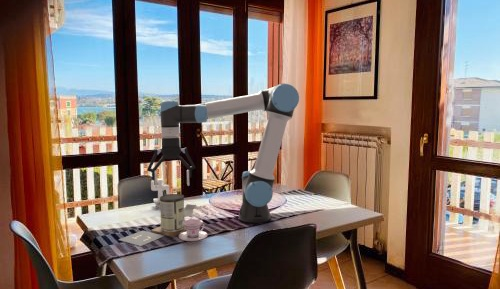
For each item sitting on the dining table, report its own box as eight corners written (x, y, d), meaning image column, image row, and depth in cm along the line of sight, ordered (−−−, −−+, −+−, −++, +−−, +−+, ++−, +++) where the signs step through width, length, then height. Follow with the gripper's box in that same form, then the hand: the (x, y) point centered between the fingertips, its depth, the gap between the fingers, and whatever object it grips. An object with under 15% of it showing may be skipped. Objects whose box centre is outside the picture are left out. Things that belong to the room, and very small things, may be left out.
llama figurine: (200, 232, 178) (161, 219, 174) (209, 209, 178) (171, 195, 174) (200, 234, 176) (161, 221, 172) (210, 210, 176) (170, 196, 172)
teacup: (179, 242, 147) (179, 227, 146) (177, 232, 159) (177, 218, 158) (209, 240, 150) (209, 225, 149) (205, 230, 162) (205, 216, 161)
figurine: (170, 207, 198) (169, 179, 196) (152, 208, 195) (151, 180, 193) (168, 203, 204) (168, 177, 203) (151, 205, 201) (150, 178, 200)
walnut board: (193, 228, 164) (193, 226, 164) (173, 237, 153) (173, 235, 153) (172, 223, 171) (172, 221, 171) (151, 231, 160) (151, 229, 159)
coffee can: (165, 224, 167) (164, 193, 166) (187, 224, 166) (186, 194, 165) (157, 231, 157) (156, 199, 156) (180, 232, 156) (180, 199, 155)
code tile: (164, 236, 154) (164, 235, 154) (140, 246, 143) (140, 245, 143) (142, 230, 161) (142, 230, 161) (118, 240, 150) (118, 239, 150)
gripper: (139, 138, 151) (141, 190, 153) (200, 136, 157) (202, 186, 159) (140, 137, 158) (142, 186, 160) (199, 135, 164) (200, 182, 166)
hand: (172, 186), depth 160 cm, fingers open, 13 cm apart
